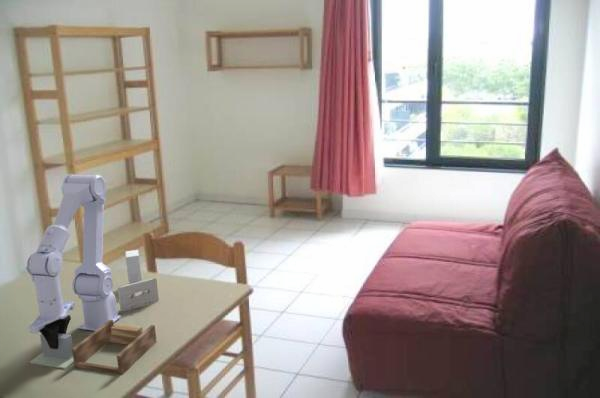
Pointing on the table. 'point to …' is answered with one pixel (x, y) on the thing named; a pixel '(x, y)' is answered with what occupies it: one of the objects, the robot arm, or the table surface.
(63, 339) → the grey rectangular box
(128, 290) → the cassette
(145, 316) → the table surface
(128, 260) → the skincare box
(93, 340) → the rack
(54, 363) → the mat
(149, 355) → the table surface
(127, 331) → the offcut
